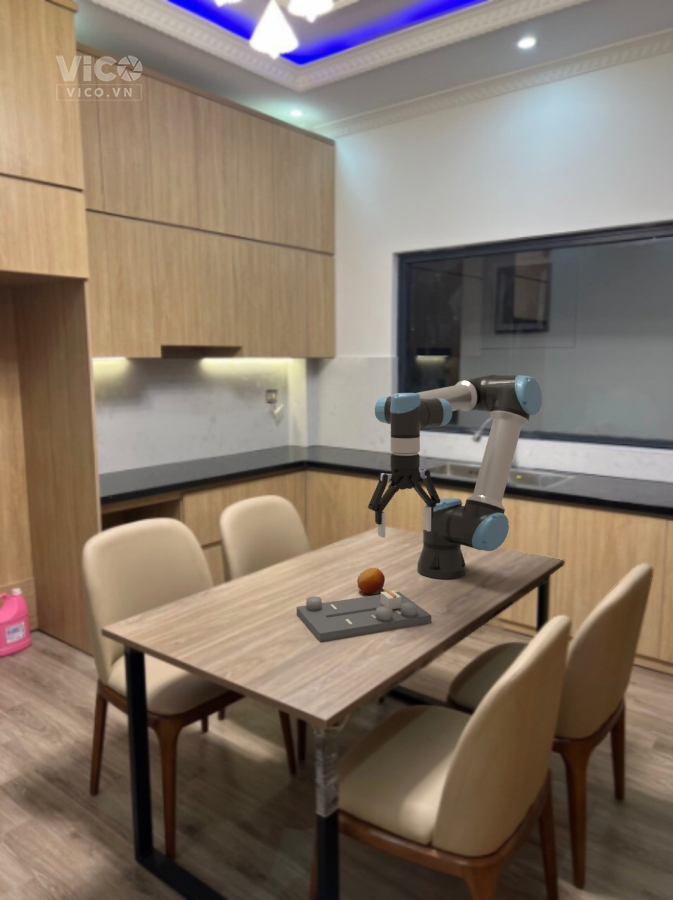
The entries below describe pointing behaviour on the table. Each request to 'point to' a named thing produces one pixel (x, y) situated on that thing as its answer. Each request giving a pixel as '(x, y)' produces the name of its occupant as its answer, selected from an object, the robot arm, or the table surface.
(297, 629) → the table surface
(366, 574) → the fruit
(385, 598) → the fader
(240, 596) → the table surface
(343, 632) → the console
